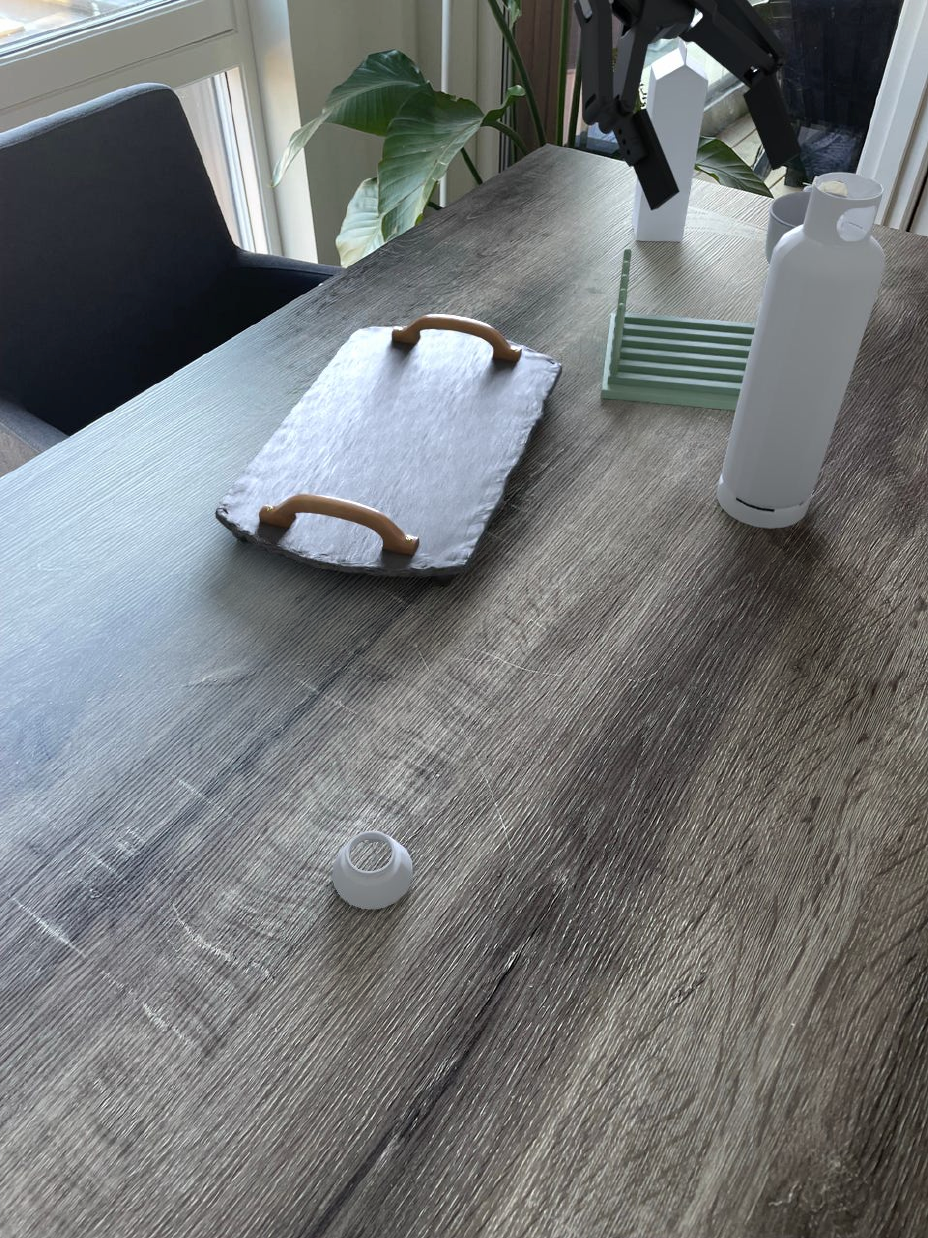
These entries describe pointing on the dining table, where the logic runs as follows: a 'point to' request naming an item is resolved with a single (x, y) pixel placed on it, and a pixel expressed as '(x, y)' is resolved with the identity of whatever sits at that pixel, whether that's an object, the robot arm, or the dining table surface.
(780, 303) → the bottle
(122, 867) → the dining table surface
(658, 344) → the rack
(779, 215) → the teacup
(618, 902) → the dining table surface
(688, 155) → the milk
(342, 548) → the serving tray
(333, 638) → the dining table surface
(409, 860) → the grey flared ring
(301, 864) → the dining table surface
